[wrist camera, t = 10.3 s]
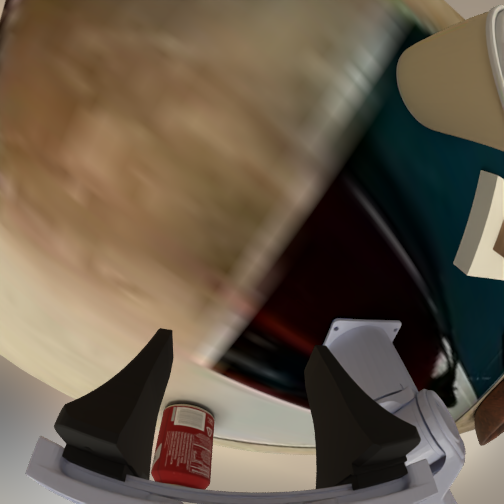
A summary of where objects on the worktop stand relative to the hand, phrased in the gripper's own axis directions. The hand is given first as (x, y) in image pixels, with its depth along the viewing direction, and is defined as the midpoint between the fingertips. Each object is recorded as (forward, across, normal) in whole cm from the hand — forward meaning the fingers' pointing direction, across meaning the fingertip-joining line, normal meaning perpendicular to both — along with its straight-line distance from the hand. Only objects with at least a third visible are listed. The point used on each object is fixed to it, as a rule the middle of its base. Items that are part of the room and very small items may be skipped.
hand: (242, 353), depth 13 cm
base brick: (+10, -26, -8) cm, 29 cm away
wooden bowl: (+10, -72, +29) cm, 78 cm away
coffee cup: (+10, -13, -18) cm, 24 cm away
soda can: (+10, +4, +23) cm, 25 cm away
